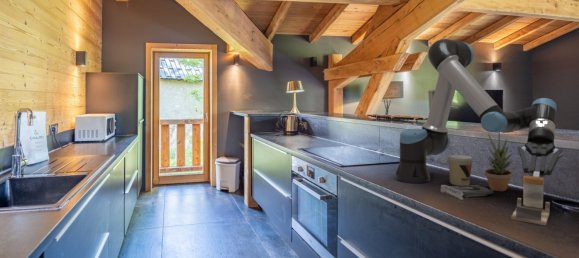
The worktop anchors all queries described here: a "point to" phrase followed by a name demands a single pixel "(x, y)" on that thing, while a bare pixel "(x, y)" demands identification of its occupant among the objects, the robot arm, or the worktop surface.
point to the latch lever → (533, 192)
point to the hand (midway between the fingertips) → (535, 190)
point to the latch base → (531, 214)
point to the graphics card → (465, 191)
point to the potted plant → (499, 168)
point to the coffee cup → (460, 169)
